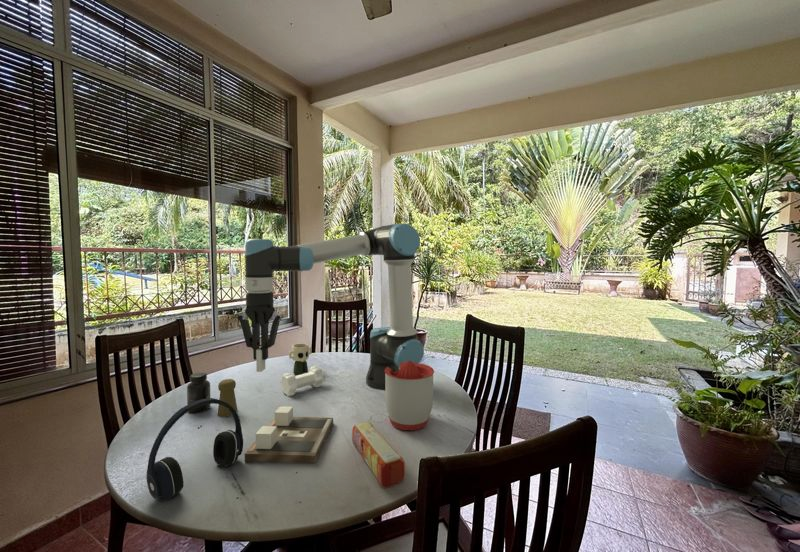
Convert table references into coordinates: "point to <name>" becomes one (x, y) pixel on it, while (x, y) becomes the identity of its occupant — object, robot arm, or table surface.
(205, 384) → the supplement bottle
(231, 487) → the table surface
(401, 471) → the snack package
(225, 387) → the cork
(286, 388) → the bone shaped toy
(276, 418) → the tab far
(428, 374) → the citrus juicer
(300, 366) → the character mug
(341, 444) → the table surface
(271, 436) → the cream cube
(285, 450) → the brown wooden tray
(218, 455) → the headphones
